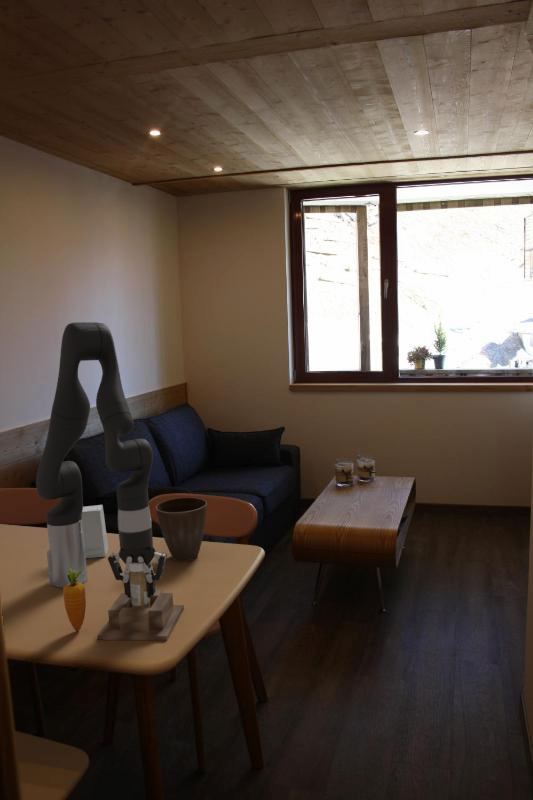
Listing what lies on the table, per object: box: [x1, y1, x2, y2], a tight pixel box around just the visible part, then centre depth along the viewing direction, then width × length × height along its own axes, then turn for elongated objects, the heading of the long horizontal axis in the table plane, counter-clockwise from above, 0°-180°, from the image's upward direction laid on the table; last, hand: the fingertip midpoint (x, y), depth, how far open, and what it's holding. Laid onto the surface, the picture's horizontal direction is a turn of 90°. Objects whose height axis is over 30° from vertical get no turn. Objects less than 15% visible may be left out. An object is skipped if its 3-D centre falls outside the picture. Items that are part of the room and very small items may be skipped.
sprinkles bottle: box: [128, 562, 151, 608], centre depth 163 cm, size 5×5×14 cm
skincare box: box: [82, 504, 109, 559], centre depth 211 cm, size 8×6×15 cm
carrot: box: [62, 569, 87, 632], centre depth 161 cm, size 5×5×15 cm
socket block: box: [97, 589, 185, 641], centre depth 163 cm, size 16×16×6 cm
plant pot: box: [155, 497, 208, 562], centre depth 205 cm, size 15×15×16 cm
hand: (140, 596), depth 163 cm, fingers closed on sprinkles bottle, 4 cm apart
